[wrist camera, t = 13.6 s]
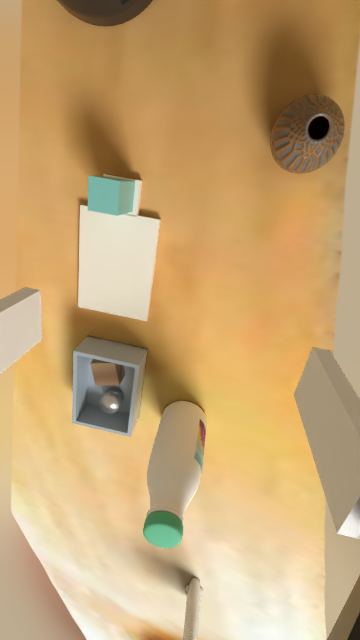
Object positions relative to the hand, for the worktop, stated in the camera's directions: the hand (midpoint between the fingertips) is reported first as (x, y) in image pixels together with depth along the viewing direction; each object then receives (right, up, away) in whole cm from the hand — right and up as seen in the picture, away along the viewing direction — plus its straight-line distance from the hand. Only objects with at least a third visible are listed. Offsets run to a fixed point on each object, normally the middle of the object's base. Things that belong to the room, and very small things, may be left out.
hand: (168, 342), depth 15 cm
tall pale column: (+4, -64, +59) cm, 87 cm away
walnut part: (-11, -6, +35) cm, 37 cm away
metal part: (-11, -12, +38) cm, 41 cm away
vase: (+14, +21, +20) cm, 33 cm away
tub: (-11, -9, +37) cm, 40 cm away
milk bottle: (+1, -16, +39) cm, 42 cm away
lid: (-8, +11, +28) cm, 31 cm away
